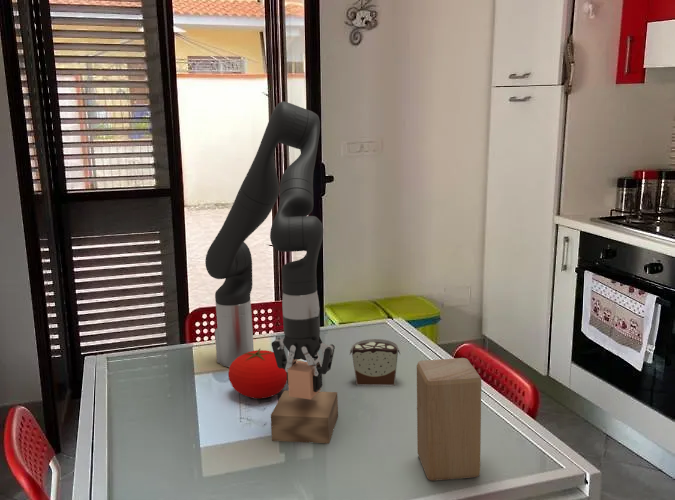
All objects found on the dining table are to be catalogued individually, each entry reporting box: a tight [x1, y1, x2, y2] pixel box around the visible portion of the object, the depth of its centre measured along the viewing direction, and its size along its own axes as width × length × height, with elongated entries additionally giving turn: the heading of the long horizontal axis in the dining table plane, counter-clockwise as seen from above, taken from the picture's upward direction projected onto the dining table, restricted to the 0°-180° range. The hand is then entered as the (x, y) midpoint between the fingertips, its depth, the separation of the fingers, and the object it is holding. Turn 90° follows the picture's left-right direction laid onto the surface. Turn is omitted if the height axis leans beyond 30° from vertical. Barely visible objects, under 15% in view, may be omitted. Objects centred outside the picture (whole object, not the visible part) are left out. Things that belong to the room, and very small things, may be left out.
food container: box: [349, 338, 401, 387], centre depth 163 cm, size 12×6×10 cm, turn 84°
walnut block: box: [270, 389, 339, 444], centre depth 141 cm, size 12×12×6 cm
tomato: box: [228, 348, 287, 400], centre depth 158 cm, size 14×13×10 cm
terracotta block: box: [287, 360, 322, 399], centre depth 139 cm, size 5×5×6 cm
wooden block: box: [416, 357, 482, 482], centre depth 122 cm, size 10×10×20 cm
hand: (304, 388), depth 139 cm, fingers closed on terracotta block, 5 cm apart
